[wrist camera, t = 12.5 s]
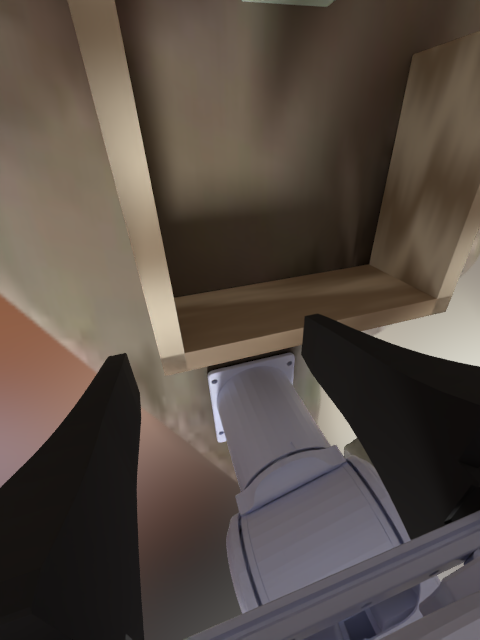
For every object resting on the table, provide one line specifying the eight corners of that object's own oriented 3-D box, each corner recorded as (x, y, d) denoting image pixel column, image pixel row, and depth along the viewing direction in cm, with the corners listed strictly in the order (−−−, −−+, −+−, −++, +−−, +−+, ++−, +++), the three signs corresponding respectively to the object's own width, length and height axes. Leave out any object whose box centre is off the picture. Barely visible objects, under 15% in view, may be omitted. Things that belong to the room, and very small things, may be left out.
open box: (378, 275, 24) (445, 311, 19) (159, 315, 20) (165, 376, 15) (429, 54, 16) (566, 9, 11) (96, 49, 12) (60, -26, 7)
